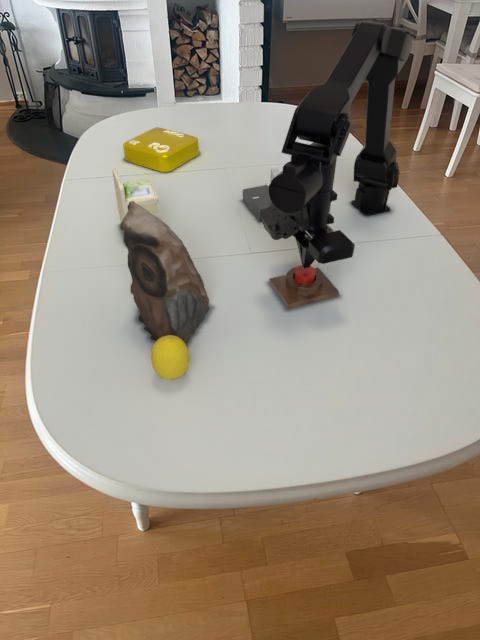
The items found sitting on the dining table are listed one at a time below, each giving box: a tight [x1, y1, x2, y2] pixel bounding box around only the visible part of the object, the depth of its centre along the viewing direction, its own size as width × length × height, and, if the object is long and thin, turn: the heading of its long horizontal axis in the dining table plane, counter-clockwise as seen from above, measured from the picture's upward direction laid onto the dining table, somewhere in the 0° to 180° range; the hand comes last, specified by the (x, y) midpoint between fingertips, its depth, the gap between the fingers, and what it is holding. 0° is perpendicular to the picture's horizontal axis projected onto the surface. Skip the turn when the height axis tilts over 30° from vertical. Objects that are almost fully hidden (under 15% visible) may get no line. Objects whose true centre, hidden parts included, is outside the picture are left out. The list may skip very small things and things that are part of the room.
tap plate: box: [242, 182, 272, 223], centre depth 117 cm, size 12×11×3 cm
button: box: [294, 264, 316, 284], centre depth 92 cm, size 4×4×2 cm
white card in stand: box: [269, 167, 281, 184], centre depth 114 cm, size 7×2×5 cm, turn 6°
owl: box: [119, 201, 211, 345], centre depth 81 cm, size 13×13×20 cm
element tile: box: [122, 126, 200, 173], centre depth 136 cm, size 15×15×5 cm
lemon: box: [150, 335, 191, 381], centre depth 76 cm, size 6×6×8 cm
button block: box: [269, 266, 340, 310], centre depth 94 cm, size 10×8×3 cm
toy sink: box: [111, 168, 159, 233], centre depth 105 cm, size 8×7×13 cm
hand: (305, 266), depth 91 cm, fingers closed
